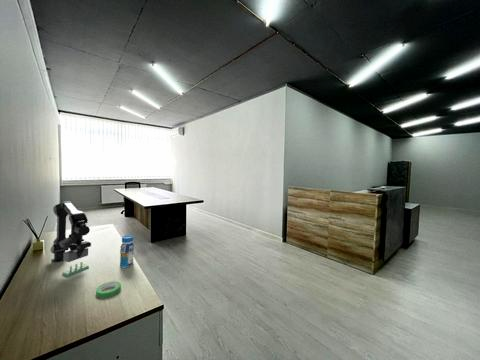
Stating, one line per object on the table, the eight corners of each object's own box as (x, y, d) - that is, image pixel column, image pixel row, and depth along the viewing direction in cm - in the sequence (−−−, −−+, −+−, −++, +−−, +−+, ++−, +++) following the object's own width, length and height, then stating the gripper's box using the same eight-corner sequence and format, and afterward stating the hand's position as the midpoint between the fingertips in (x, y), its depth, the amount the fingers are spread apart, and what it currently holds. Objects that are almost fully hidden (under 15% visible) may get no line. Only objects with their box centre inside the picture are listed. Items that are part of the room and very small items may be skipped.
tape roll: (102, 300, 98) (102, 295, 98) (92, 292, 104) (92, 288, 104) (124, 290, 107) (124, 285, 107) (114, 283, 113) (114, 279, 113)
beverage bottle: (118, 264, 135) (119, 236, 135) (132, 261, 141) (133, 234, 140) (120, 269, 129) (121, 239, 128) (134, 266, 134) (135, 237, 134)
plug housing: (63, 260, 120) (63, 252, 119) (83, 254, 130) (83, 246, 130) (68, 262, 118) (68, 254, 118) (88, 255, 128) (88, 248, 128)
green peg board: (62, 274, 119) (62, 267, 119) (83, 266, 131) (83, 259, 131) (67, 276, 118) (67, 269, 118) (88, 267, 129) (88, 261, 129)
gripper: (52, 233, 119) (51, 258, 120) (71, 238, 113) (70, 264, 113) (73, 228, 130) (72, 251, 130) (92, 233, 123) (91, 257, 124)
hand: (76, 256), depth 124 cm, fingers closed on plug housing, 5 cm apart
